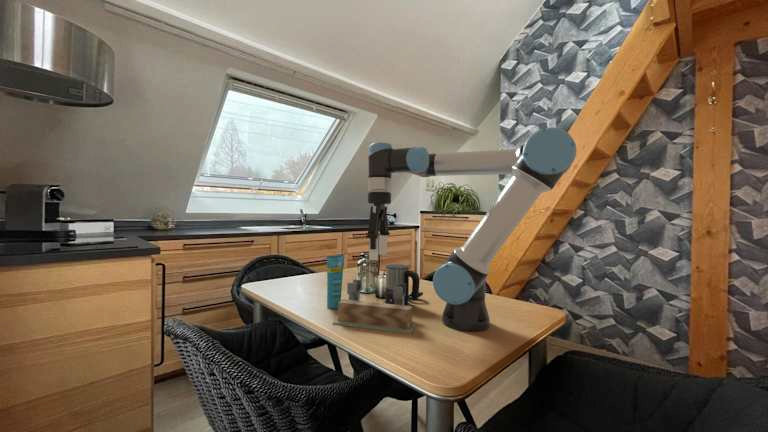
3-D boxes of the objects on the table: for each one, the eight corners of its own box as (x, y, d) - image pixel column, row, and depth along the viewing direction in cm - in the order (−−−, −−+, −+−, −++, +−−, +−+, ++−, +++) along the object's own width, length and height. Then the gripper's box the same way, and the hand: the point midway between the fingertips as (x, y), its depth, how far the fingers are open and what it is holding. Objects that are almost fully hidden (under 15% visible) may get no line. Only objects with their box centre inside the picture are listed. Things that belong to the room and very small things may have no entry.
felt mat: (415, 324, 108) (415, 323, 108) (411, 333, 100) (411, 332, 100) (341, 316, 114) (341, 314, 114) (332, 323, 106) (332, 322, 106)
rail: (411, 325, 106) (412, 306, 106) (409, 329, 102) (409, 309, 102) (342, 317, 112) (342, 299, 112) (337, 320, 108) (338, 302, 108)
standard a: (409, 315, 117) (410, 284, 116) (405, 321, 110) (406, 288, 110) (392, 313, 118) (393, 282, 118) (387, 319, 112) (388, 286, 112)
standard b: (364, 310, 120) (365, 280, 120) (359, 316, 114) (360, 284, 114) (348, 309, 122) (349, 278, 122) (342, 314, 116) (343, 282, 115)
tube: (329, 310, 120) (331, 256, 120) (321, 307, 123) (323, 254, 123) (346, 306, 125) (347, 254, 125) (338, 303, 129) (339, 253, 128)
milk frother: (381, 305, 128) (382, 266, 128) (390, 295, 143) (392, 260, 143) (418, 309, 124) (420, 269, 124) (424, 298, 140) (425, 263, 139)
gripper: (377, 193, 122) (376, 251, 123) (357, 189, 98) (356, 262, 98) (397, 193, 121) (396, 252, 121) (382, 189, 96) (381, 263, 97)
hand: (378, 257), depth 110 cm, fingers open, 13 cm apart
